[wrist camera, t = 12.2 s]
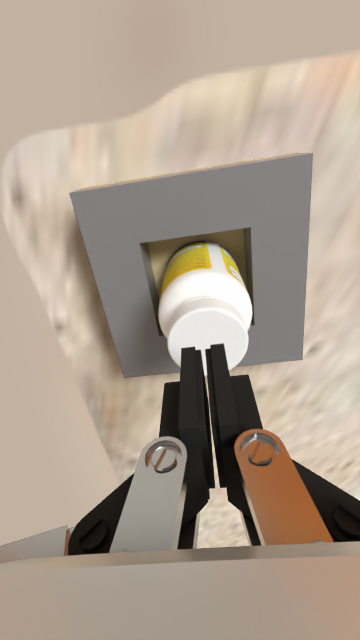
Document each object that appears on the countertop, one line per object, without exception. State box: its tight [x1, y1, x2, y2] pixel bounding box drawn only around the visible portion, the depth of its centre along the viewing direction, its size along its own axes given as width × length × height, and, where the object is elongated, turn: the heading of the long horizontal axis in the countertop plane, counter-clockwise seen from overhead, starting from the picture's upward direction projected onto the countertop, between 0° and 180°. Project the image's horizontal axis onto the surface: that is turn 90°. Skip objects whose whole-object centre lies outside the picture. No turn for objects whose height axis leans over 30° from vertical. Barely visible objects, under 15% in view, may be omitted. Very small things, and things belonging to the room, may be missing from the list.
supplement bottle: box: [159, 240, 252, 376], centre depth 19 cm, size 5×5×10 cm
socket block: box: [69, 153, 313, 378], centre depth 22 cm, size 14×14×4 cm
